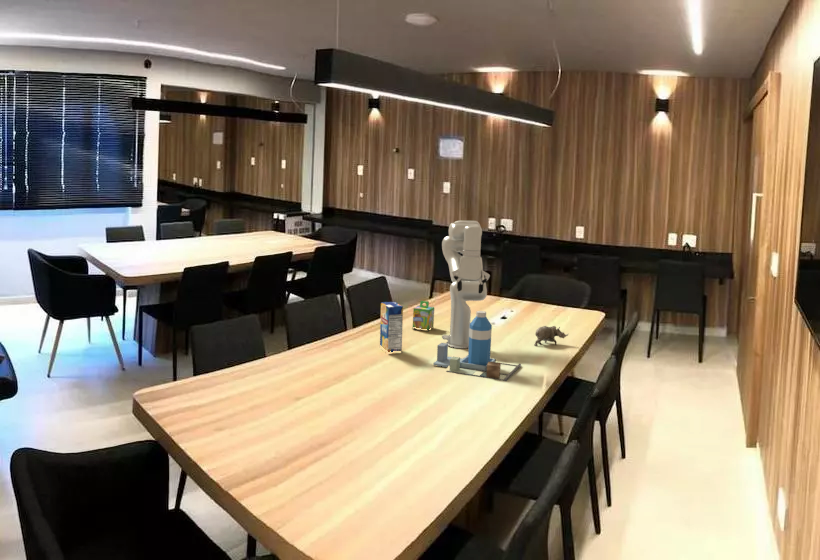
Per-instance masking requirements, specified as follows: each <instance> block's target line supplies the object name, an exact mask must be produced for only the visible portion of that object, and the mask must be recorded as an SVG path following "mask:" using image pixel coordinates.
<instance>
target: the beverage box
mask: <svg viewBox="0 0 820 560" xmlns="http://www.w3.org/2000/svg"><path fill="white" fill-rule="evenodd" d="M403 313H404V306H403V305H401V304H399V303H398V302H397V301H383V302H380V324H379V325H380V328H379V330H380V331H379V334H380V335H379V337H380V338H379V346H380V345H381V346H382V347H383V348H384V349H385V350H387V351H388V352H390V351H391V352H393V351H402V350H403V325H404V324H403V320H404V319H403V318H404V317H403V315H404V314H403ZM402 352H403V351H402Z"/></svg>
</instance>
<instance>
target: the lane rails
mask: <svg viewBox="0 0 820 560" xmlns="http://www.w3.org/2000/svg"><path fill="white" fill-rule="evenodd" d="M464 358H465V357H463V358H462V359H464ZM500 363H501V365H505V366H512V367H514V368H513V369H512V370H511V371H510V373H502V372H500V376H499V378H493V377H486V376H487V371H484V370H477V369H470V368H464V367H460V368H461V369H468V370H475V371H476V372H481V374H479V375H478V374H473V375H472V374H465V373H459V372H453V371H449V370H446V371H445V372H447V373H452V374H458V375H464V376H470V377H471V376H473V377H479V378H484V379H491V380H497V381H498V380H499V381H504V382H507V381H508V380H510V378H511V377H512V376H514V374H515V373H516V372H517V371H518V370H519V369H520V368H521V367H522V363H518V364H510V363H503V362H500Z"/></svg>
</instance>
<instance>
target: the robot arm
mask: <svg viewBox="0 0 820 560" xmlns="http://www.w3.org/2000/svg"><path fill="white" fill-rule="evenodd" d="M482 235H483V229H482V227H481V224H480V222H478V220H460V219H459V220H456V221H454V222H451V223H450V224H449V227H448V235H447V236H445V237H444V238H443V239H442V241H441V249H442V254H443V257H444V258H445V261H446V263H447V264H448V269H449V275H450V279H451V282H452V283H451V284H450V286H449V294H450V296H449V297H450V329H449V334H448V335H447V334H442V336H441V339H442V340H444V341H445V340H446V343H447V344H448V347H449V346H450V348H453V347H454V348H453V349H469V328H470V323H471V316H472V315H471V314H472V311H471V310H472V309H471V307H470V306H469V304H467V302H470V301H471V302H472V301H473V302H476V301H477V302H481V301H484V300H485V299H486V298H487V295H488V290H487V283H486V282H487V281H488V280H489V279H490V277H491V275H490V274H489V273H488V272H486V271H484V270H483V258H482V256H481V249H482V248H481V247H482V243H481V242H482ZM461 254H462V255H461Z"/></svg>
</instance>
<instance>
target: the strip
mask: <svg viewBox="0 0 820 560" xmlns="http://www.w3.org/2000/svg"><path fill="white" fill-rule="evenodd" d="M451 357H452V358H451V359H450V366H449V370H448V371H453V372H459V373H465V374H472V375H475V373H476V372H477V371H476V370H469V369H463V368H460V358H461V357H459V356H451Z"/></svg>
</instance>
